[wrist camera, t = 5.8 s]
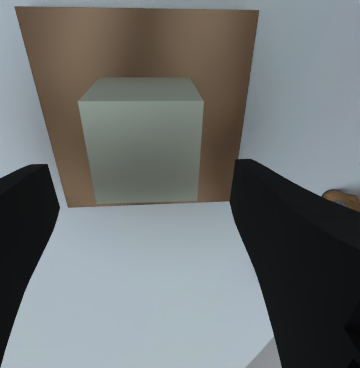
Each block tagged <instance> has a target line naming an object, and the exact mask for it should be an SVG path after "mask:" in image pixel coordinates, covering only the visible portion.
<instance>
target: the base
mask: <svg viewBox="0 0 360 368" xmlns="http://www.w3.org/2000/svg"><path fill="white" fill-rule="evenodd" d="M14 7H15V10H16V14H17V18H18V22H19V26H20V29H21V33H22V37H23V41H24V44H25V48H26V52H27V56H28V59H29V63H30V67H31V71H32V74H33V78H34V82H35V86H36V89H37V93H38V97H39V101H40V104H41V108H42V112H43V116H44V119H45V123H46V127H47V131H48V134H49V138H50V142H51V146H52V150H53V153H54V157H55V161H56V165H57V168H58V172H59V176H60V180H61V183H62V187H63V191H64V195H65V198H66V202H67V206H68V208H71V207H96V206H121V205H146V204H171V203H196V202H221V201H230V194H231V187H232V180H233V173H234V165H235V159H238V156H239V149H240V142H241V135H242V128H243V121H244V114H245V107H246V100H247V93H248V86H249V79H250V72H251V64H252V57H253V50H254V43H255V36H256V29H257V22H258V15H259V10H207V9H145V8H83V7H20V6H14ZM100 77H168V78H190V79H191V80H192V82H193V84H194V85H195V87H196V89H197V90H198V92H199V94H200V95H201V97H202V99H203V100H204V106H203V121H202V136H201V152H200V167H199V182H198V197H197V201H179V202H149V203H119V204H96V198H95V193H94V188H93V182H92V177H91V171H90V166H89V160H88V155H87V149H86V144H85V138H84V133H83V128H82V122H81V117H80V111H79V106H78V100H79V99H80V98H81V97H82V96H83V95H84V94H85V93H86V92H87V91H88V90H89V88H90V87H91V86H92V85H93V84H94V83H95V82H96V81H97V80H98V79H99V78H100Z"/></svg>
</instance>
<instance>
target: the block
mask: <svg viewBox="0 0 360 368" xmlns="http://www.w3.org/2000/svg"><path fill="white" fill-rule="evenodd" d="M78 106H79V111H80V117H81V122H82V128H83V133H84V138H85V144H86V149H87V155H88V160H89V166H90V171H91V177H92V182H93V188H94V193H95V198H96V204H119V203H149V202H179V201H197V197H198V182H199V167H200V152H201V136H202V121H203V106H204V100H203V99H202V97H201V95H200V94H199V92H198V90H197V89H196V87H195V85H194V84H193V82H192V80H191V79H190V78H168V77H100V78H99V79H98V80H97V81H96V82H95V83H94V84H93V85H92V86H91V87H90V88H89V90H88V91H87V92H86V93H85V94H84V95H83V96H82V97H81V98H80V99H79V100H78Z"/></svg>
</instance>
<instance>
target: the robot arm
mask: <svg viewBox="0 0 360 368" xmlns="http://www.w3.org/2000/svg"><path fill="white" fill-rule="evenodd" d="M230 205H231V210H232V214H233V217H234V221H235V224H236V226H237V229H238V231H239V233H240V236H241V238H242V241H243V243H244V245H245V248H246V250H247V252H248V255H249V257H250V259H251V262H252V264H253V267H254V269H255V272H256V275H257V277H258V280H259V284H260V287H261V290H262V294H263V297H264V300H265V304H266V307H267V311H268V315H269V318H270V322H271V326H272V329H273V333H274V337H275V341H276V345H277V349H278V353H279V357H280V361H281V366H282V368H360V212H359V211H356V210H353V209H350V208H347V207H345V206H342V205H340V204H337V203H335V202H333V201H330V200H328V199H325V198H323V197H321V196H319V195H317V194H314V193H312V192H310V191H308V190H306V189H304V188H302V187H301V186H299V185H297V184H295V183H293V182H291V181H289V180H288V179H286V178H284V177H282V176H281V175H279V174H277V173H275V172H274V171H272V170H270V169H269V168H267V167H265V166H264V165H262V164H260V163H258V162H256V161H254V160H252V159H235V165H234V173H233V180H232V187H231V194H230ZM59 210H60V206H59V202H58V199H57V195H56V192H55V189H54V185H53V182H52V178H51V175H50V171H49V168H48V164H32V165H28V166H25V167H23V168H20V169H18V170H16V171H14V172H12V173H10V174H8V175H6V176H4V177H2V178H0V367H1V363H2V360H3V356H4V353H5V349H6V346H7V343H8V340H9V336H10V333H11V330H12V327H13V324H14V321H15V318H16V315H17V312H18V309H19V306H20V303H21V301H22V298H23V295H24V292H25V290H26V287H27V285H28V283H29V280H30V278H31V276H32V274H33V272H34V270H35V268H36V266H37V264H38V262H39V260H40V257H41V255H42V253H43V251H44V249H45V247H46V245H47V243H48V241H49V239H50V236H51V234H52V232H53V230H54V227H55V224H56V221H57V217H58V213H59Z"/></svg>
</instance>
